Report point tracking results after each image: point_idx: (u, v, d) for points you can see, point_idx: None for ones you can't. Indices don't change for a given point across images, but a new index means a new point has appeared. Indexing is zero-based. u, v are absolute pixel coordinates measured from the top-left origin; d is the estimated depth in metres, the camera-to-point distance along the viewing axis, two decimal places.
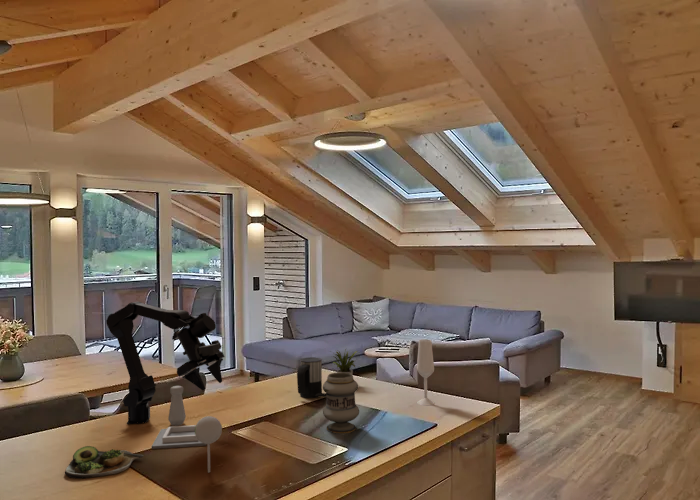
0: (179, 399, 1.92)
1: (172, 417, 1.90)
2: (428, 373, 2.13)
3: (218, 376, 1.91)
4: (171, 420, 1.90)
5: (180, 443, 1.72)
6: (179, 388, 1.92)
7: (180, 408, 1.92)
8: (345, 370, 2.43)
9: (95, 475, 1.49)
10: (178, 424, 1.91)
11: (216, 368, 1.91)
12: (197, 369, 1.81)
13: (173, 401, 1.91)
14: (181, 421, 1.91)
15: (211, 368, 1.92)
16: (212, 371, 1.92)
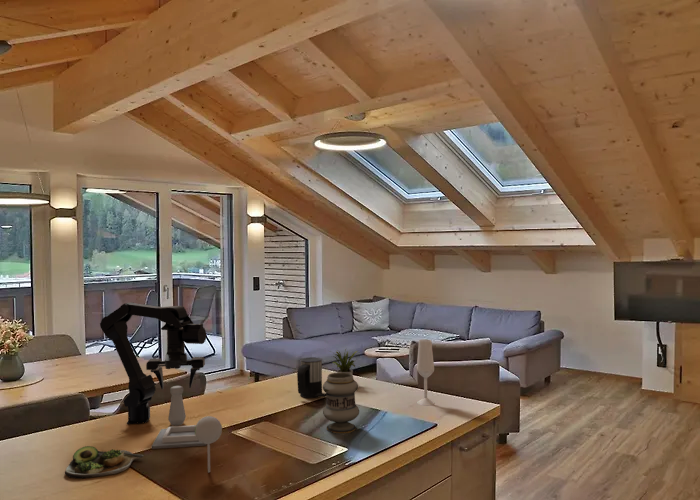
0: (179, 399, 1.92)
1: (172, 417, 1.90)
2: (428, 373, 2.13)
3: None
4: (171, 420, 1.90)
5: (180, 443, 1.72)
6: (179, 388, 1.92)
7: (180, 408, 1.92)
8: (345, 370, 2.43)
9: (95, 475, 1.49)
10: (178, 424, 1.91)
11: None
12: (155, 371, 1.89)
13: (173, 401, 1.91)
14: (181, 421, 1.91)
15: None
16: None
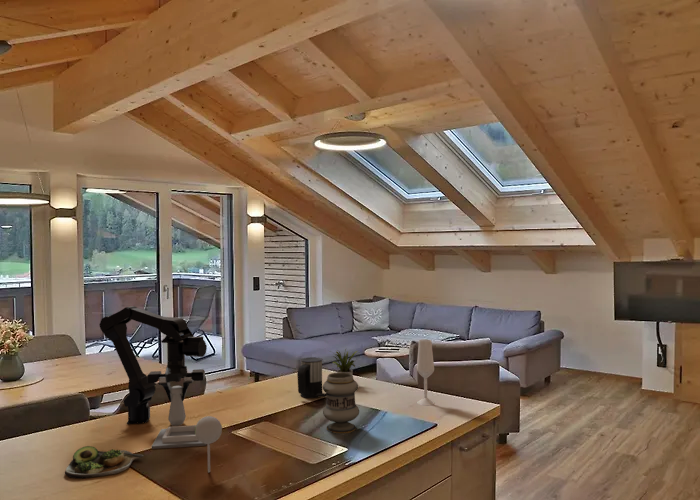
0: (179, 399, 1.92)
1: (172, 417, 1.90)
2: (428, 373, 2.13)
3: None
4: (171, 420, 1.90)
5: (180, 443, 1.72)
6: (179, 388, 1.92)
7: (180, 408, 1.92)
8: (345, 370, 2.43)
9: (95, 475, 1.49)
10: (178, 424, 1.91)
11: (183, 386, 1.92)
12: (163, 384, 1.90)
13: (173, 401, 1.91)
14: (181, 421, 1.91)
15: None
16: None
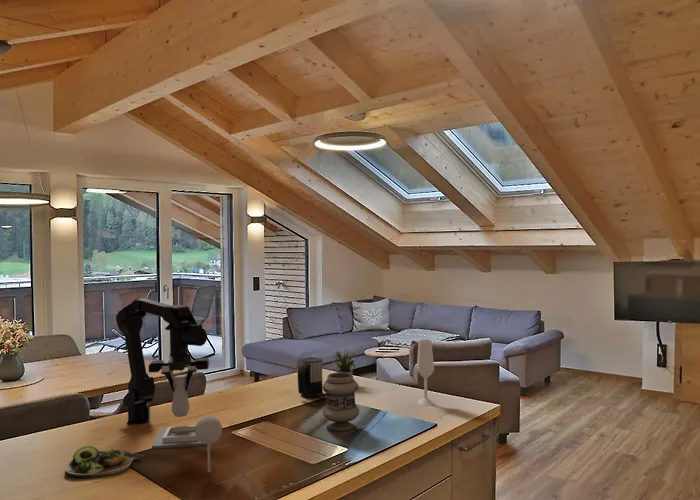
0: (183, 389, 1.85)
1: (175, 408, 1.83)
2: (428, 373, 2.13)
3: (186, 384, 1.86)
4: (174, 411, 1.83)
5: (180, 443, 1.72)
6: (182, 377, 1.85)
7: (184, 398, 1.84)
8: (345, 370, 2.43)
9: (95, 475, 1.49)
10: (182, 415, 1.84)
11: None
12: (166, 373, 1.82)
13: (176, 391, 1.84)
14: (185, 412, 1.84)
15: None
16: None
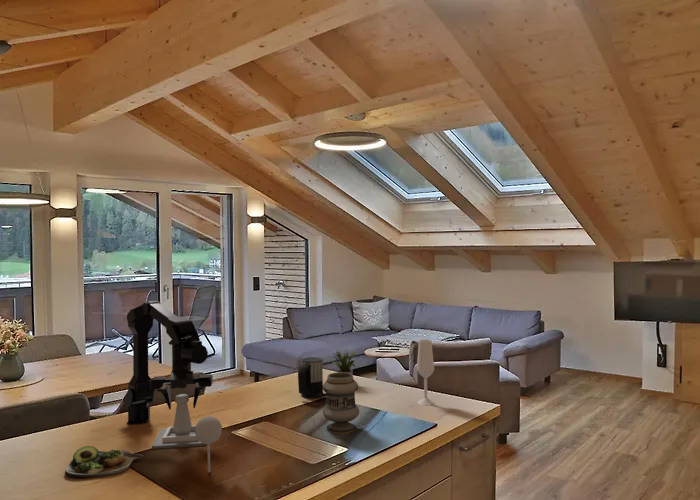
0: (184, 408, 1.78)
1: (177, 428, 1.76)
2: (428, 373, 2.13)
3: None
4: (176, 431, 1.76)
5: (180, 443, 1.72)
6: (184, 397, 1.78)
7: (186, 419, 1.77)
8: (345, 370, 2.43)
9: (95, 475, 1.49)
10: None
11: (194, 393, 1.78)
12: (163, 391, 1.75)
13: (178, 410, 1.77)
14: (187, 432, 1.77)
15: None
16: None
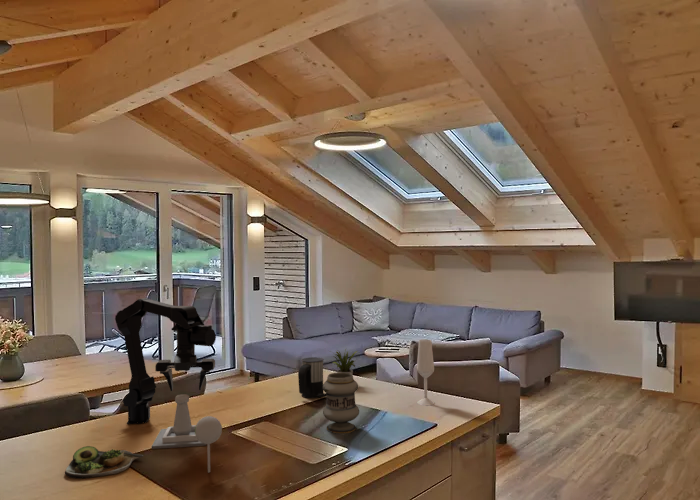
0: (185, 409, 1.78)
1: (177, 429, 1.76)
2: (428, 373, 2.13)
3: None
4: (176, 431, 1.76)
5: (180, 443, 1.72)
6: (185, 397, 1.78)
7: (186, 419, 1.77)
8: (345, 370, 2.43)
9: (95, 475, 1.49)
10: None
11: (200, 375, 1.88)
12: (165, 373, 1.85)
13: (178, 410, 1.77)
14: (187, 432, 1.77)
15: None
16: None
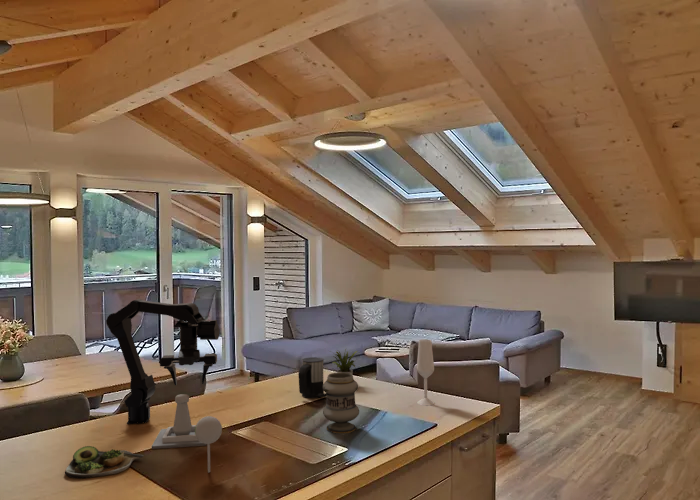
0: (185, 409, 1.78)
1: (177, 429, 1.76)
2: (428, 373, 2.13)
3: (202, 377, 1.96)
4: (176, 431, 1.76)
5: (180, 443, 1.72)
6: (185, 397, 1.78)
7: (186, 419, 1.77)
8: (345, 370, 2.43)
9: (95, 475, 1.49)
10: None
11: (203, 370, 1.95)
12: (169, 368, 1.92)
13: (178, 410, 1.77)
14: (187, 432, 1.77)
15: None
16: None
